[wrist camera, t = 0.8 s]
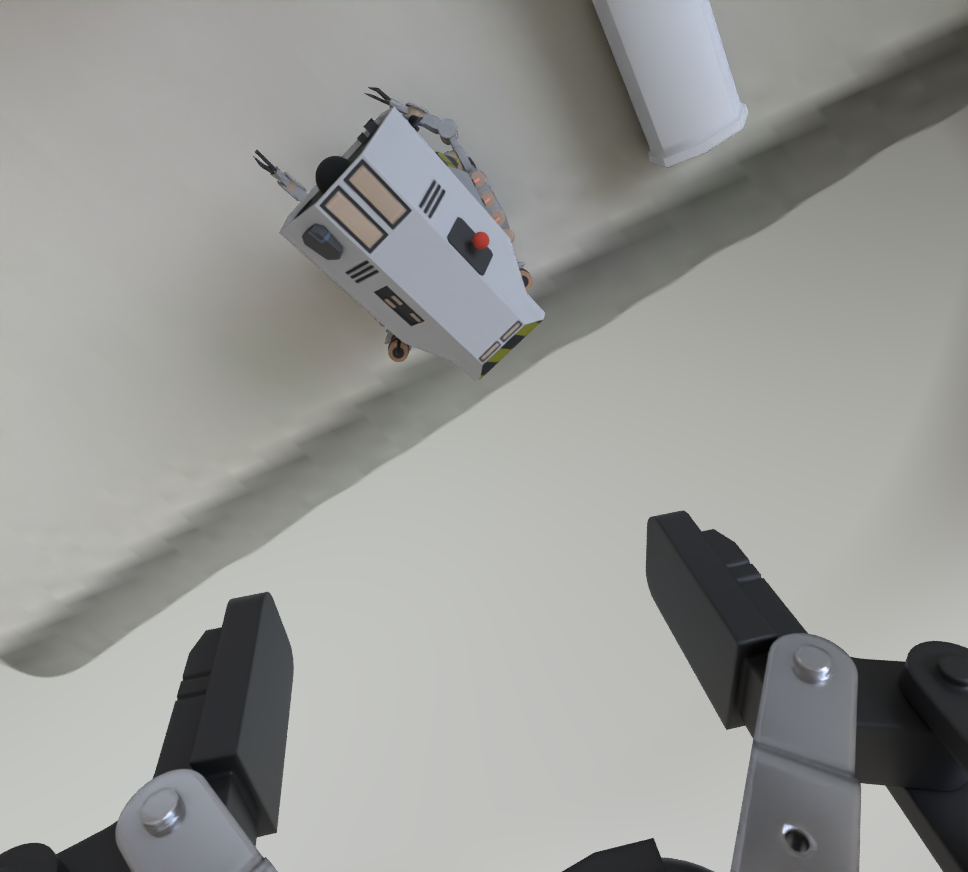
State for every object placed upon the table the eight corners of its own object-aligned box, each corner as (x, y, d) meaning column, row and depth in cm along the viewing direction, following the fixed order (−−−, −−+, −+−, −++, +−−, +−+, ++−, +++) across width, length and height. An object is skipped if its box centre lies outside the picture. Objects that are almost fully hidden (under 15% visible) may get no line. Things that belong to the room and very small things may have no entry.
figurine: (417, 49, 33) (456, 35, 20) (513, 248, 38) (591, 337, 26) (266, 141, 33) (209, 185, 21) (383, 322, 39) (395, 444, 26)
